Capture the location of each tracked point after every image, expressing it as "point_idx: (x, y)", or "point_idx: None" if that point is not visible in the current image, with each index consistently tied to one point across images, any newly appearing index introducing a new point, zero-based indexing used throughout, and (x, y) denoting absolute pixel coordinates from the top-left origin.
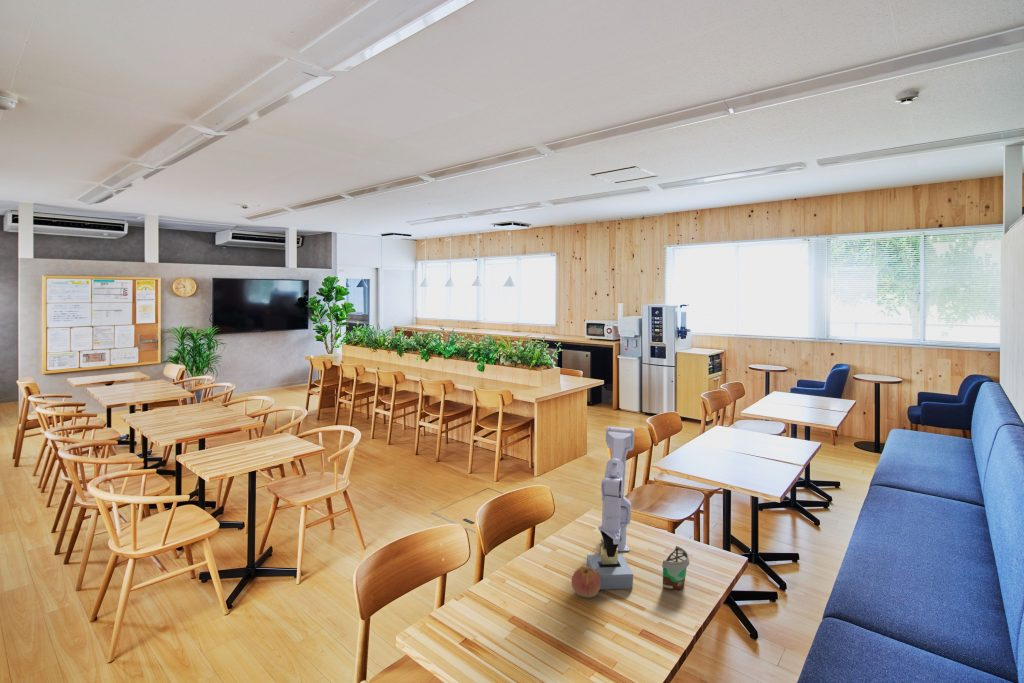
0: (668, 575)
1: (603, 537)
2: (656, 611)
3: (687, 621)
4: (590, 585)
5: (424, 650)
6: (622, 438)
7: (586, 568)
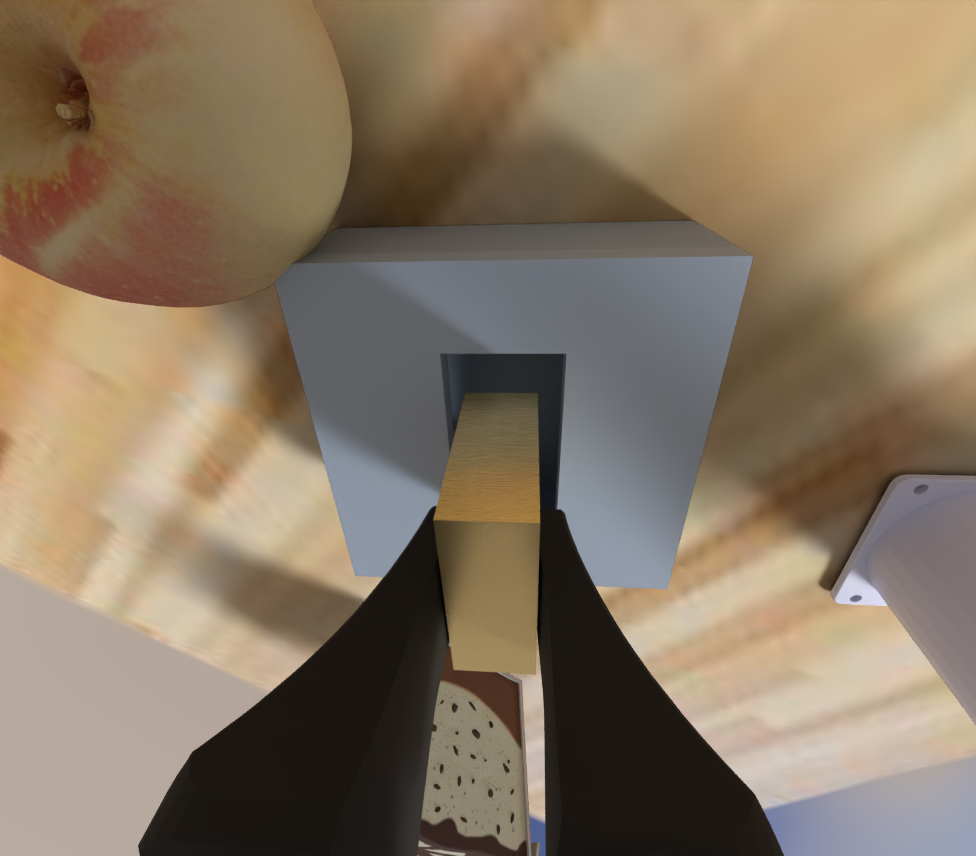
0: None
1: (281, 808)
2: (196, 537)
3: (165, 616)
4: None
5: None
6: None
7: (114, 122)
